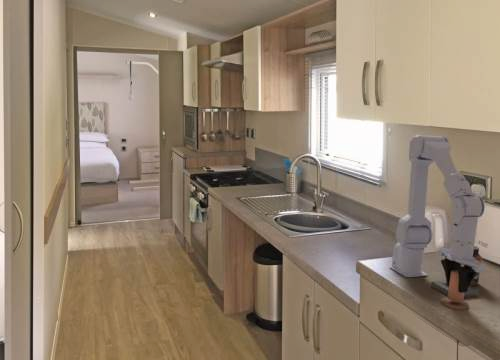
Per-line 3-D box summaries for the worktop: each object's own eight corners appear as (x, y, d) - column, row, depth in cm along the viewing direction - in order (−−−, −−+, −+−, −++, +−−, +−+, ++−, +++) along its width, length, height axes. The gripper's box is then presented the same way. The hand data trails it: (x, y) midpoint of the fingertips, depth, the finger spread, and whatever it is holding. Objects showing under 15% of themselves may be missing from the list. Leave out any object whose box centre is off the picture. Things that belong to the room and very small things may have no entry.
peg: (444, 296, 137) (447, 270, 136) (455, 295, 138) (459, 269, 137) (455, 302, 133) (458, 275, 132) (466, 301, 135) (470, 274, 133)
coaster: (435, 300, 138) (435, 298, 138) (455, 298, 140) (455, 296, 140) (453, 310, 132) (453, 309, 132) (474, 308, 134) (474, 306, 134)
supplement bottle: (460, 277, 158) (464, 242, 156) (480, 282, 154) (485, 247, 152) (454, 282, 153) (458, 246, 151) (474, 287, 150) (479, 251, 148)
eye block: (431, 286, 148) (431, 281, 148) (455, 284, 152) (456, 279, 151) (452, 298, 140) (453, 293, 140) (478, 295, 143) (478, 290, 143)
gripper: (432, 233, 138) (426, 280, 141) (471, 249, 125) (464, 300, 127) (452, 232, 141) (446, 278, 143) (493, 247, 127) (486, 298, 130)
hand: (456, 288), depth 135 cm, fingers closed on peg, 4 cm apart
